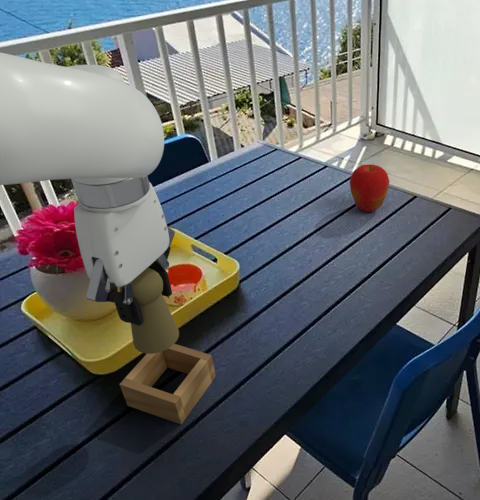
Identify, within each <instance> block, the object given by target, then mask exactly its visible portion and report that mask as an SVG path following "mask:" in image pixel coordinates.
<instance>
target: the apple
mask: <svg viewBox="0 0 480 500" xmlns="http://www.w3.org/2000/svg"><path fill="white" fill-rule="evenodd" d="M390 182H391V181H390V178H389V174H388V173H387V171H386V170H385V169H384V168H383V167H382V166H379V165H377V164H361V165H359V166H358V167H357V168H356V169H354V170H353V172H352V174H351V176H350V178H349V187H350V193H351V196H352V198H353V201H354V204H355V205H356V207H357V208H358V209H360V210H361V211H362V212H365V213H374V212H375V211H376V210H378V209H380V208H381V207H382V206H383V204H384V202H385V199H386V198H387V195H388V192H389V187H390Z"/></svg>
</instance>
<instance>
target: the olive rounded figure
mask: <svg viewBox="0 0 480 500" xmlns="http://www.w3.org/2000/svg"><path fill="white" fill-rule="evenodd" d="M132 285H133V298H134V299H137V300H138V303H139V306H140V309H141V313H142V316H143V320H144V322H143V324H142V325H140V326H139V325H135V324H132V323H130V328H131V336H132V344H133V346H134V348H135V349H136V351H138V352H140V353H142V354H145V355H146V354H154V353H159V352H162V351H164V350H167V349H168V348H170V347H171V346H173V345H174V344H176V342H177V341H178V339H179V337H180V330H179V328H178V326H177V323H176V322H175V319H174V317H173V315H172V313H171V311H170V308H169V306H168V304H167V302H166V300H165V298H164V296H162V291H163V280H162V278H161V276H160V275H159V273H157V272H156V271H155V270H153V269H150V268H146V269H145V270H144V271H143V272H142V273H141V274H139V275H138V276H137V277H136V278H135V279H134V280H132ZM118 289H119V290H118V292H122V287H118Z"/></svg>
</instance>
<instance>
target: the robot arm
mask: <svg viewBox="0 0 480 500" xmlns="http://www.w3.org/2000/svg"><path fill="white" fill-rule="evenodd" d="M164 150H165V132H164V126H163V123H162V120H161V117H160V114H159V113H158V111H157V109H156V108H155V106H154V104H153V102H151V101H150V99H149V98H148V97H147V96H146V95H145V94H144V93H143V92H142V91H140V90H139V89H137V88H136V87H134V86H131V85H130V84H128V83H126V82H125V80H124V77H123V76H122V75H121V73H119V72H118V71H117V70H116V69H114V68H113V67H109V66H106V65H101V64H75V65H69V66H63V65H58V64H53V63H49V62H43V61H39V60H35V59H32V58H31V59H30V58H26V57H23V56H19V55H14V54H10V53H5V52H0V186H5V185H7V186H9V185H17V184H18V185H19V184H28V183H37V182H45V181H54V180H55V181H56V180H71V183H72V185H73V189H74V191H75V194H76V198H77V200H78V204H76V205H75V207H73V210H74V211H73V212H74V213H73V214H74V218H73V219H74V227H75V234H76V239H77V242H78V248H79V252H80V257H81V259H82V263H83V266H84V269H85V272H86V275H87V277H88V279H89V283H88V287H87V291H86V295H85V296H86V297H85V298H86V300H89V301H93V302H97V303H108V302H109V303H114V305H115V309H116V311H117V314H118V318H119V319H120V320H121V321H122V322H123V323H128V324H131V323H132V324H135V325H139V326H140V325H142V324H143V322H144V320H143V316H142V313H141V309H140V306H139V303H138V300H137V299H134V298H133V285H132V280H134V279H135V278H136V277H137V276H138V275H139V274H141V273H142V272H143V271H144V270H145V269H146V268H150V269H153V270H155V271H156V272H157V273H159V275H160V276H161V278H162V280H163V291H162V296H163V297H168V298H169V297H171V296H172V294H173V291H172V287H171V282H170V279H169V274H168V271H167V270H168V269H169V267H170V262H169V260H168V259H169V256H170V253H171V246H172V243H173V240H174V238H175V234H176V231H175V230H173V229H172V228H170V227H169V226H168V225H167V224H168V223H167V220H166V216H165V213H164V210H163V208H162V205H161V203H160V200H159V196H158V194H157V193H156V190H155V189H154V186H153V184H152V183H151V182H150V180H149V177H148V176H149V175H151V174H152V173H153V172H154V171H155V170H156V169H157V168H158V166H159V164H160V163H161V160H162V157H163V155H164ZM119 287H122V292H120V291H119V290H118V289H119Z"/></svg>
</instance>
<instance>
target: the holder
mask: <svg viewBox="0 0 480 500" xmlns="http://www.w3.org/2000/svg"><path fill="white" fill-rule="evenodd" d="M167 369H170V370H174V371H177V372H181V373H183V374H187V375H186V377H185V378H184V379H183V381H181V383H180V384H179V386H178V387H177V389H176V390H175V391H174V392H173V393H170V392H167V391H164V390H162V389H159V388H155V387H153V386H154V385H155V383H156V382H157V381H158V380H159V379H160V378H161V376H162V375H163V374H164V373H165V372H166V370H167ZM216 377H217V374H216V370H215V365H214V360H213V357H212V354H209V353H206V352H203V351H199V350H196V349H193V348H189V347H187V346H183V345H180V344H176V343H174V345H173V346H171V347H170V348H168V349H167V350H164V351H162V352H159V353H154V354H145V355H144V356H143V357H142V358H141V359H140V360H139V362H138V363H137V364H136V365H135V366H134V367H133V368H132V370H130V372H129V373H128V374H127V375H126V376H125V377H124V378H123V380H122V381H121V382H120V383H119V387H120V389H121V392H122V395H123V397H124V401H125V403H126V406H127V407H130V408H133V409H137V410H138V411H141V412H144V413H147V414H150V415H153V416H156V417H159V418H162V419H165V420H167V421H170V422H173V423H175V424H179V425H182V424H183V423H184V422H185V420H186V419H187V418H188V416H189V415H190V413H191V412H192V411H193V409H194V408H195V406H196V405H197V404H198V402H199V401H200V400H201V398H202V397H203V395H204V394H205V392H206V391H207V389H208V388H209V387H210V386H211V384H212V383H213V381H214V380H215V379H216Z"/></svg>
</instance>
